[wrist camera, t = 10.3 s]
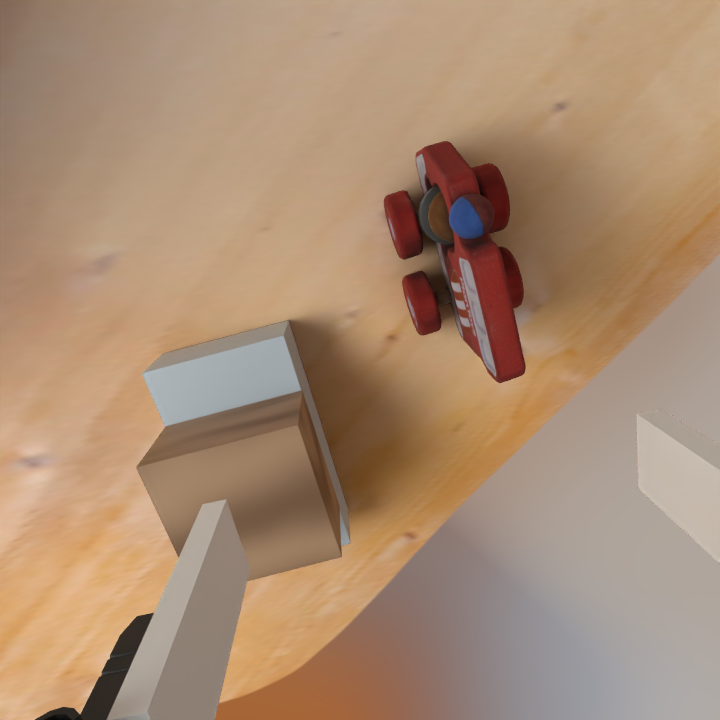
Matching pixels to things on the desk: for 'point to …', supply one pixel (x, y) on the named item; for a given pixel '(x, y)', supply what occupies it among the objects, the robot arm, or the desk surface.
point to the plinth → (237, 383)
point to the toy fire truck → (462, 255)
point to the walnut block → (250, 482)
